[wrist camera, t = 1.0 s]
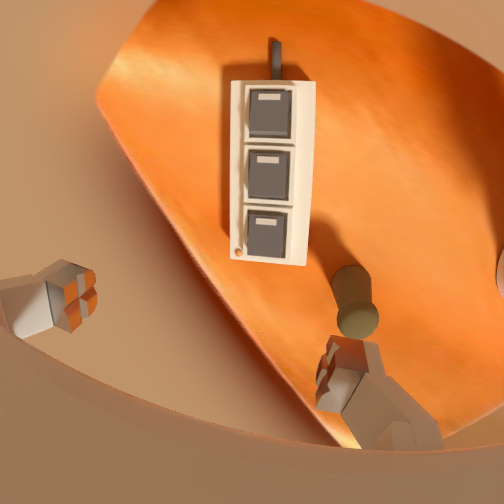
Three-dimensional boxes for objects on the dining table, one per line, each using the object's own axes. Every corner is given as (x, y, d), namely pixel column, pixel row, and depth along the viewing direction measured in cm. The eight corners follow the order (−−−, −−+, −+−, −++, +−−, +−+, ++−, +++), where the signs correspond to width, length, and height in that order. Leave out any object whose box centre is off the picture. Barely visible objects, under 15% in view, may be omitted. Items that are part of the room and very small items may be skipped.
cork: (353, 308, 45) (360, 354, 34) (322, 287, 44) (323, 331, 34) (379, 280, 42) (394, 321, 32) (348, 257, 42) (357, 295, 32)
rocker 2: (287, 157, 34) (286, 154, 32) (284, 198, 35) (283, 197, 33) (253, 155, 35) (250, 152, 33) (250, 196, 36) (247, 195, 34)
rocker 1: (289, 97, 32) (287, 91, 30) (287, 135, 32) (285, 131, 30) (254, 96, 32) (251, 90, 31) (251, 134, 33) (248, 130, 31)
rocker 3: (284, 217, 37) (283, 217, 35) (281, 256, 37) (280, 258, 36) (252, 214, 38) (249, 214, 36) (249, 253, 38) (246, 255, 36)
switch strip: (315, 45, 32) (315, 32, 27) (306, 254, 43) (305, 270, 38) (240, 45, 34) (229, 33, 29) (237, 248, 45) (227, 263, 40)
